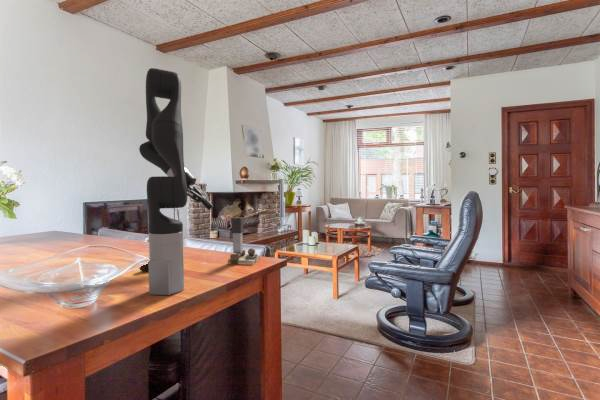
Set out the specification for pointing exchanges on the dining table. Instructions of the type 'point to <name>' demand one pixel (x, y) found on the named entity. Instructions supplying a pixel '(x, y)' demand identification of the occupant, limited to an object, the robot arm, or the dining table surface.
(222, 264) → the dining table surface
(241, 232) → the lever
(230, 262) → the cracker base
